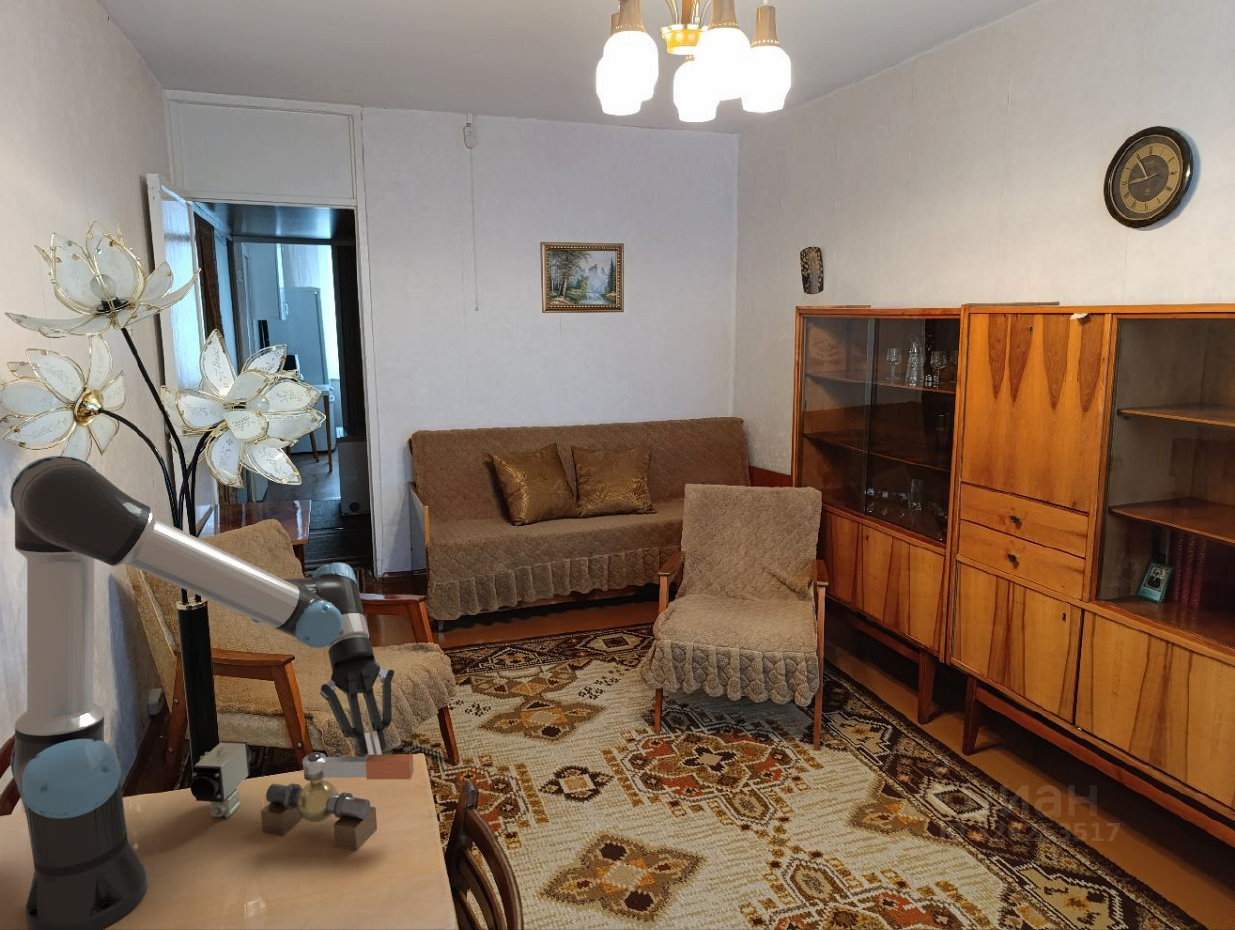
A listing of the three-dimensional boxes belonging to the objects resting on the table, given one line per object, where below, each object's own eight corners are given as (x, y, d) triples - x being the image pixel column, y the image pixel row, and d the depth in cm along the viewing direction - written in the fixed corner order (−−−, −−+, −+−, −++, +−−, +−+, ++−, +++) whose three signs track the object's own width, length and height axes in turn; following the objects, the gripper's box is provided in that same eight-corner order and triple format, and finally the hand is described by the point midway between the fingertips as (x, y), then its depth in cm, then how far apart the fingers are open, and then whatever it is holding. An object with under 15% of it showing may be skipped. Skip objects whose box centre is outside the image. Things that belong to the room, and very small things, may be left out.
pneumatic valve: (256, 793, 154) (250, 732, 152) (220, 832, 142) (213, 766, 140) (227, 792, 154) (221, 730, 152) (189, 830, 143) (181, 765, 141)
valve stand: (261, 833, 142) (256, 779, 140) (287, 811, 148) (282, 759, 146) (355, 851, 137) (351, 795, 135) (378, 828, 143) (374, 774, 141)
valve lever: (300, 782, 139) (299, 760, 138) (308, 770, 143) (307, 749, 142) (409, 781, 139) (408, 760, 138) (414, 769, 142) (413, 748, 142)
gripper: (383, 644, 160) (413, 767, 150) (308, 660, 154) (334, 789, 143) (389, 628, 155) (421, 753, 144) (311, 643, 148) (338, 776, 137)
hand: (377, 771), depth 143 cm, fingers closed
